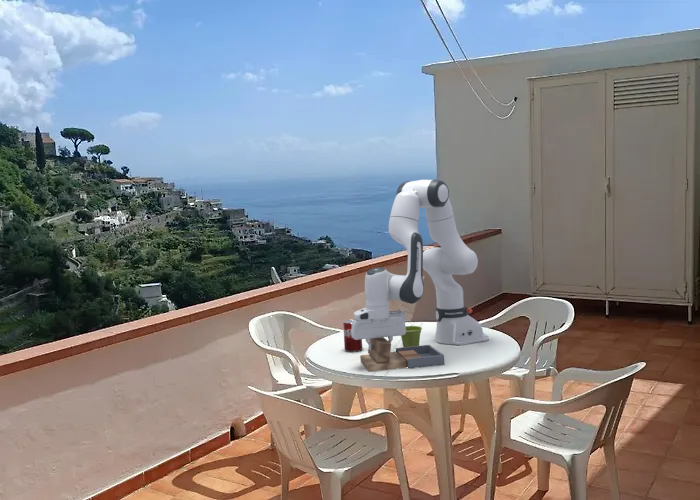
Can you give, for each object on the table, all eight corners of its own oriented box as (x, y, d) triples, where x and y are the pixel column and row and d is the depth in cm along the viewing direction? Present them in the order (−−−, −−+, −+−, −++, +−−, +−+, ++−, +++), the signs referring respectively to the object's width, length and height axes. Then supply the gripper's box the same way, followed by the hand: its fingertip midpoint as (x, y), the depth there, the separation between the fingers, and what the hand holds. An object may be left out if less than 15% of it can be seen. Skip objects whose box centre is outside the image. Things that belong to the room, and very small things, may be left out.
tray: (429, 353, 254) (429, 344, 253) (444, 364, 237) (444, 355, 237) (395, 356, 251) (395, 348, 251) (408, 368, 235) (408, 359, 234)
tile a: (413, 355, 251) (412, 350, 251) (418, 358, 245) (417, 353, 245) (398, 356, 250) (398, 351, 249) (402, 360, 244) (402, 355, 243)
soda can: (360, 352, 260) (359, 323, 259) (343, 352, 262) (341, 323, 261) (363, 348, 268) (362, 319, 266) (346, 347, 269) (345, 319, 268)
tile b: (419, 360, 243) (418, 355, 243) (424, 364, 237) (423, 359, 237) (403, 362, 242) (403, 356, 241) (408, 366, 236) (407, 361, 236)
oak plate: (396, 358, 250) (395, 351, 249) (406, 367, 236) (406, 360, 236) (360, 361, 247) (360, 355, 247) (368, 371, 233) (368, 364, 233)
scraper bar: (379, 353, 248) (381, 335, 248) (389, 362, 235) (391, 343, 234) (367, 352, 247) (369, 334, 247) (377, 362, 234) (379, 343, 233)
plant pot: (407, 353, 255) (406, 332, 254) (395, 349, 263) (394, 328, 262) (427, 350, 259) (426, 328, 258) (414, 345, 267) (413, 324, 267)
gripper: (402, 308, 244) (404, 344, 246) (349, 313, 240) (351, 349, 242) (407, 311, 238) (409, 348, 240) (352, 316, 234) (354, 353, 236)
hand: (379, 349), depth 241 cm, fingers closed on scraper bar, 5 cm apart
